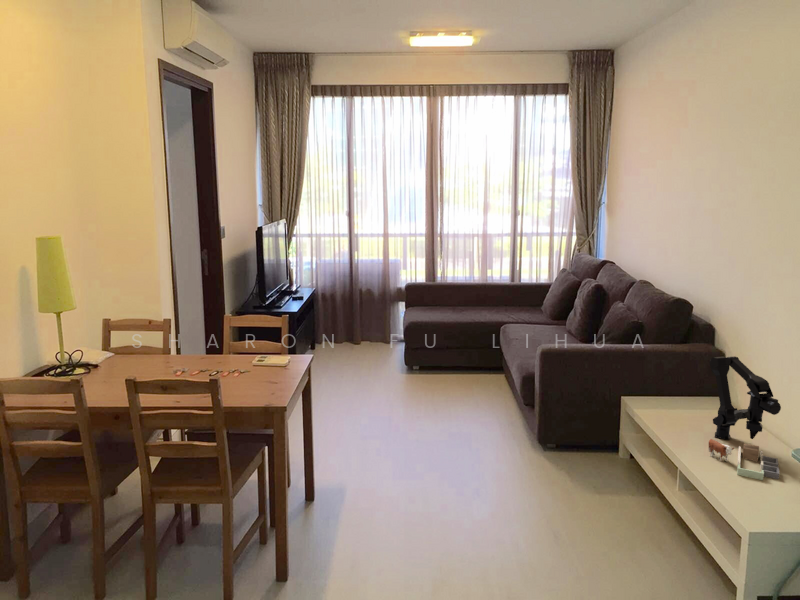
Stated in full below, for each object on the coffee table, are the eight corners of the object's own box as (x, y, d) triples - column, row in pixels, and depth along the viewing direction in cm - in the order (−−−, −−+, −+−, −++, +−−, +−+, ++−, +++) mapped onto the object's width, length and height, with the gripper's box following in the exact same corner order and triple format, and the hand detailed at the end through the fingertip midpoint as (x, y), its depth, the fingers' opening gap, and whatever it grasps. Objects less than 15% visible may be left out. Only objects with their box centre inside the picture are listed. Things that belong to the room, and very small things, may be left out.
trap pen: (738, 451, 292) (739, 445, 291) (776, 459, 285) (777, 452, 284) (737, 474, 269) (738, 468, 268) (779, 483, 262) (780, 477, 261)
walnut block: (742, 453, 290) (744, 443, 289) (757, 456, 288) (759, 446, 287) (742, 458, 285) (743, 448, 284) (757, 461, 282) (759, 451, 281)
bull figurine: (726, 466, 277) (729, 448, 275) (704, 453, 290) (706, 436, 288) (735, 465, 278) (737, 447, 276) (712, 452, 291) (714, 435, 289)
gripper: (736, 397, 299) (732, 428, 303) (736, 409, 283) (731, 442, 287) (763, 401, 294) (759, 433, 297) (764, 414, 278) (759, 447, 281)
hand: (751, 438), depth 291 cm, fingers closed
